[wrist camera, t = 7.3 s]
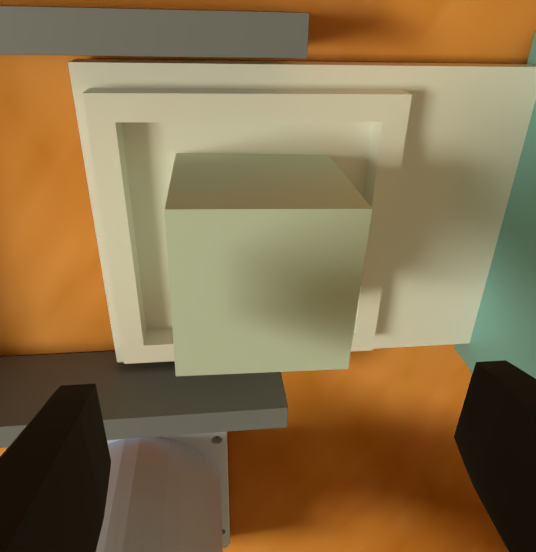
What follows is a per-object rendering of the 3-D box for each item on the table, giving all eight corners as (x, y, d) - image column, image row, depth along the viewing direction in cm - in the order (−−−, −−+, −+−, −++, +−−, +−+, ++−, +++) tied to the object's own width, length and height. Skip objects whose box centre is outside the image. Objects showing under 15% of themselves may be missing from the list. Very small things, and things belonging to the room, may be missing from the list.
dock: (273, 360, 22) (287, 427, 18) (-104, 381, 20) (-169, 459, 17) (285, 12, 15) (309, 13, 12) (-277, -2, 14) (-444, -4, 10)
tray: (477, 346, 22) (543, 428, 18) (123, 366, 21) (102, 461, 16) (567, 31, 16) (700, 40, 12) (69, 22, 14) (11, 28, 10)
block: (314, 284, 19) (348, 369, 14) (182, 287, 18) (175, 376, 14) (327, 154, 16) (372, 208, 12) (175, 153, 16) (164, 209, 11)
